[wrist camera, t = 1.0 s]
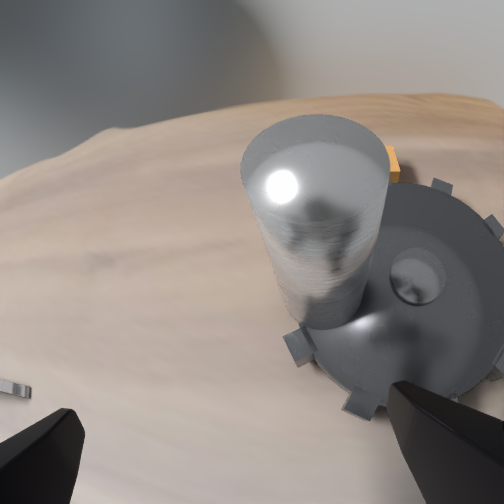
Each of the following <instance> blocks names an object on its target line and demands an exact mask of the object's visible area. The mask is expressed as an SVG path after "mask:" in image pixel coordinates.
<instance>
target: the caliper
mask: <svg viewBox="0 0 504 504" xmlns="http://www.w3.org/2000/svg"><path fill="white" fill-rule="evenodd" d="M0 391H2V392H5V393H9V394H13V395H17V396H22V397H26V398H29V392H30V387H29V386H25V385H20V384H16V383H13V382H9V381H4V380H0Z"/></svg>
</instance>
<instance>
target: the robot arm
mask: <svg viewBox="0 0 504 504" xmlns="http://www.w3.org/2000/svg"><path fill="white" fill-rule="evenodd" d="M387 413H388V416H389V418H390V421H391V424H392V426H393V429H394V432H395V435H396V438H397V440H398V443H399V446H400V449H401V452H402V454H403V456H404V458H405V460H406V462H407V464H408V466H409V468H410V470H411V472H412V474H413V476H414V479H415V481H416V483H417V485H418V487H419V489H420V491H421V493H422V495H423V497H424V499H425V501H426V503H427V504H504V421H501V420H500V419H497V418H495V417H492V416H490V415H487V414H485V413H482V412H480V411H477V410H475V409H472V408H470V407H467V406H465V405H462V404H460V403H457V402H455V401H453V400H450V399H448V398H445V397H443V396H441V395H438V394H436V393H434V392H431V391H429V390H427V389H424V388H422V387H420V386H417V385H415V384H413V383H411V382H408V381H406V380H401V381H397V382H394V383H392V384H391V385H390V388H389V394H388V400H387ZM84 439H85V430H84V428H83V426H82V424H81V422H80V420H79V418H78V416H77V414H76V412H75V411H74V410H73V409H67V408H61V409H59V410H57V411H55V412H54V413H52V414H50V415H49V416H47V417H45V418H43V419H42V420H40V421H38V422H37V423H35V424H33V425H31V426H30V427H28V428H26V429H24V430H23V431H21V432H19V433H17V434H16V435H14V436H12V437H10V438H9V439H7V440H5V441H3V442H1V443H0V504H70V500H71V496H72V493H73V489H74V486H75V482H76V479H77V475H78V470H79V465H80V459H81V454H82V449H83V444H84Z"/></svg>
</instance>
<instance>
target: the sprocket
mask: <svg viewBox="0 0 504 504" xmlns="http://www.w3.org/2000/svg"><path fill="white" fill-rule="evenodd" d="M240 173H241V179H242V182H243V185H244V188H245V191H246V194H247V196H248V199H249V202H250V205H251V208H252V211H253V213H254V216H255V219H256V222H257V225H258V228H259V231H260V233H261V236H262V239H263V242H264V245H265V248H266V251H267V254H268V256H269V259H270V262H271V265H272V268H273V271H274V274H275V277H276V280H277V283H278V286H279V289H280V291H281V294H282V297H283V300H284V303H285V306H286V308H287V310H288V312H289V314H290V315H291V316H292V317H293V318H294V319H295V320H296V321H297V322H298V323H299V327H300V329H298V330H296V331H293V332H291V333H289V334H287V335H285V336H283V338H284V340H285V342H286V344H287V346H288V348H289V350H290V353H291V355H292V357H293V359H294V361H295V363H296V365H297V367H300V366H302V365H304V364H307V363H309V362H311V361H313V360H315V361H316V363H317V364H318V366H319V367H320V368H321V369H322V370H323V371H324V373H325V374H326V375H327V376H328V377H329V378H330V379H331V380H332V381H333V382H335V383H336V384H337V385H338V386H339V387H341V388H342V389H343V390H345V391H346V392H348V393H350V394H349V396H348V398H347V400H346V402H345V403H344V405H343V407H342V409H341V410H342V411H344V412H347V413H349V414H351V415H353V416H355V417H358V418H360V419H362V420H364V421H370V420H371V418H372V416H373V414H374V412H375V411H376V409H377V407H378V406H382V407H387V400H388V394H389V388H390V385H391V384H392V383H394V382H397V381H401V380H406V381H408V382H411V383H413V384H415V385H417V386H420V387H422V388H424V389H427V390H429V391H431V392H434V393H436V394H438V395H441V396H443V397H445V398H448V399H450V400H453V401H455V402H457V403H458V397H459V396H460V395H462V394H464V393H465V392H467V391H469V390H471V389H472V388H473V387H474V386H476V385H477V384H478V383H479V382H481V381H482V380H483V379H484V378H485V377H486V378H487V379H488V380H489V381H493V380H496V379H499V378H502V377H504V248H503V246H502V244H501V243H500V241H499V239H500V238H501V236H502V235H503V234H504V228H503V227H502V226H501V225H500V223H499V222H498V221H497V220H496V218H495V217H494V216H493V215H490V216H489V217H487V218H486V219H484V220H483V219H482V218H481V217H480V216H479V215H478V214H477V213H476V212H475V211H474V210H472V209H471V208H470V207H469V206H467V205H466V204H464V203H463V202H461V201H460V200H458V199H457V198H455V197H453V196H451V193H452V187H453V185H451V184H449V183H446V182H444V181H441V180H439V179H436V178H433V181H432V185H431V187H427V186H424V185H418V184H412V183H391V180H390V178H389V176H390V159H389V155H388V152H387V150H386V148H385V146H384V145H383V143H382V142H381V141H380V139H379V138H378V137H377V136H376V135H375V134H374V133H373V132H371V131H370V130H369V129H367V128H366V127H364V126H362V125H360V124H358V123H356V122H354V121H352V120H349V119H346V118H342V117H338V116H332V115H321V114H316V115H303V116H297V117H293V118H289V119H286V120H283V121H281V122H278V123H276V124H274V125H272V126H270V127H269V128H267V129H265V130H264V131H262V132H261V133H260V134H259V135H258V136H256V137H255V138H254V139H253V140H252V142H251V143H250V144H249V145H248V147H247V149H246V150H245V152H244V155H243V157H242V161H241V168H240Z"/></svg>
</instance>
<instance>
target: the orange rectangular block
mask: <svg viewBox="0 0 504 504" xmlns="http://www.w3.org/2000/svg"><path fill="white" fill-rule="evenodd" d="M385 148H386V150H387V152H388V155H389V159H390V176H389V178H390V180H391V183H398V182H399V177H400V172H401V171H400V168H399V164H398V161H397V158H396V155H395V152H394V149H393V146H385Z"/></svg>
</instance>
